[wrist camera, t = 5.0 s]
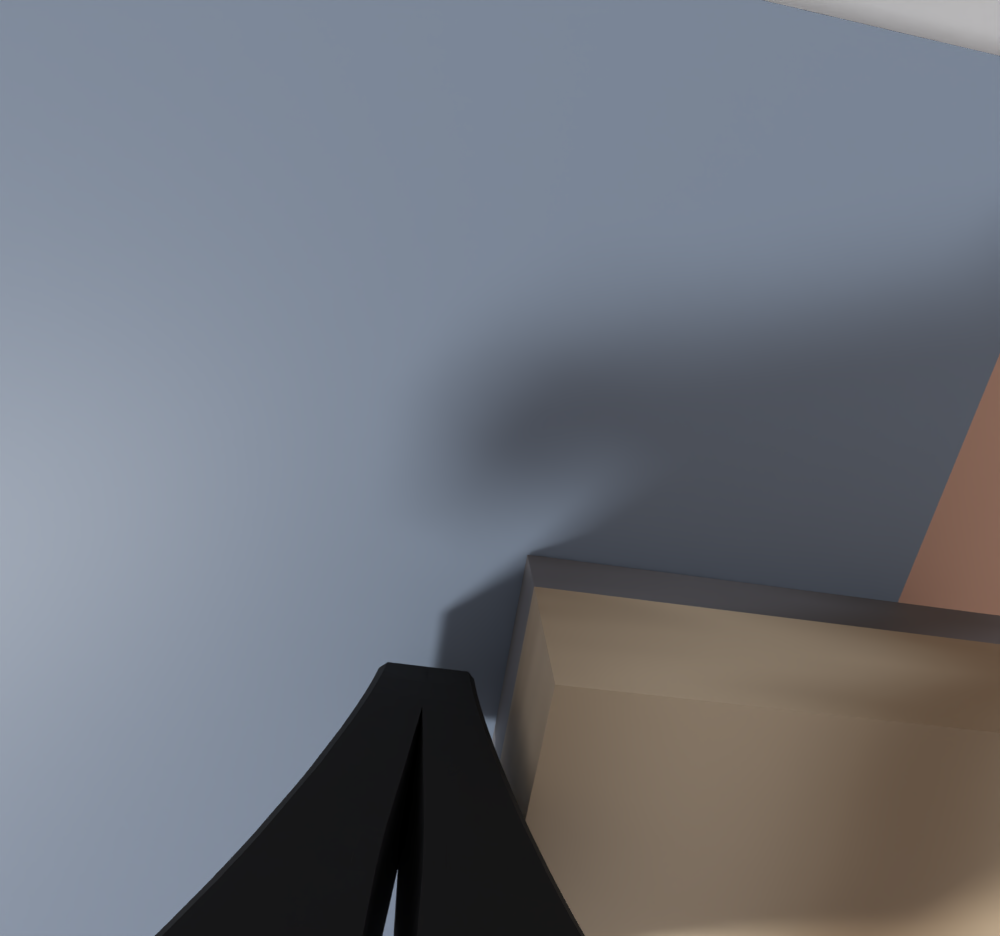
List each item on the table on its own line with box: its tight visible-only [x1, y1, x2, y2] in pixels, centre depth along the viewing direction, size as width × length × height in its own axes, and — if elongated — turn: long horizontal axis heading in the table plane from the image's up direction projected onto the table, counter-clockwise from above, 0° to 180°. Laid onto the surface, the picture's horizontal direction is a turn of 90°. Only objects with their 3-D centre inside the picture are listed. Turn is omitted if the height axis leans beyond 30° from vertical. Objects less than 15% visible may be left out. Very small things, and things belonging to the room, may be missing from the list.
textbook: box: [0, 0, 1000, 936], centre depth 10 cm, size 20×15×3 cm
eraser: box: [492, 555, 1000, 936], centre depth 8 cm, size 10×5×3 cm, turn 81°
